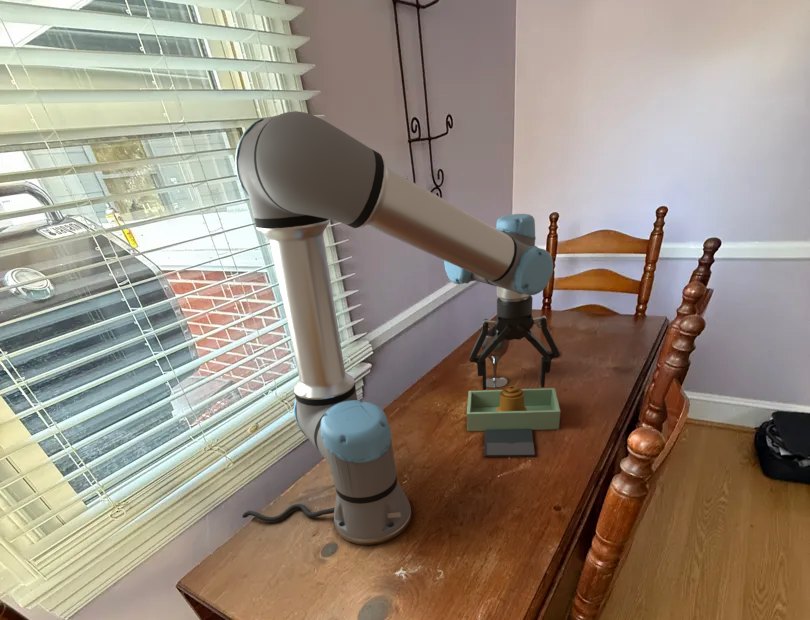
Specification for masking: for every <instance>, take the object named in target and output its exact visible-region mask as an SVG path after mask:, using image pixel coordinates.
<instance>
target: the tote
mask: <svg viewBox="0 0 810 620" xmlns="http://www.w3.org/2000/svg"><path fill="white" fill-rule="evenodd" d="M520 389H521V390H522V391H523V392H524V406H525V407H526V409H527V411H500V412H496V411H497V408H498V407H499V406H500V393H501V391H502V390H503V389H486V390H483V389H481V390H468V394H467V404H466V405H467V406H466V431H467V432H482V431H483V432H485V430H494V429H532V431H536V430H537V431H540V430H541V431H542V430H560V420H561V407H560V404H559V399H558V395H557V389H556V387H542V388H541V387H540V388H520Z"/></svg>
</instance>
